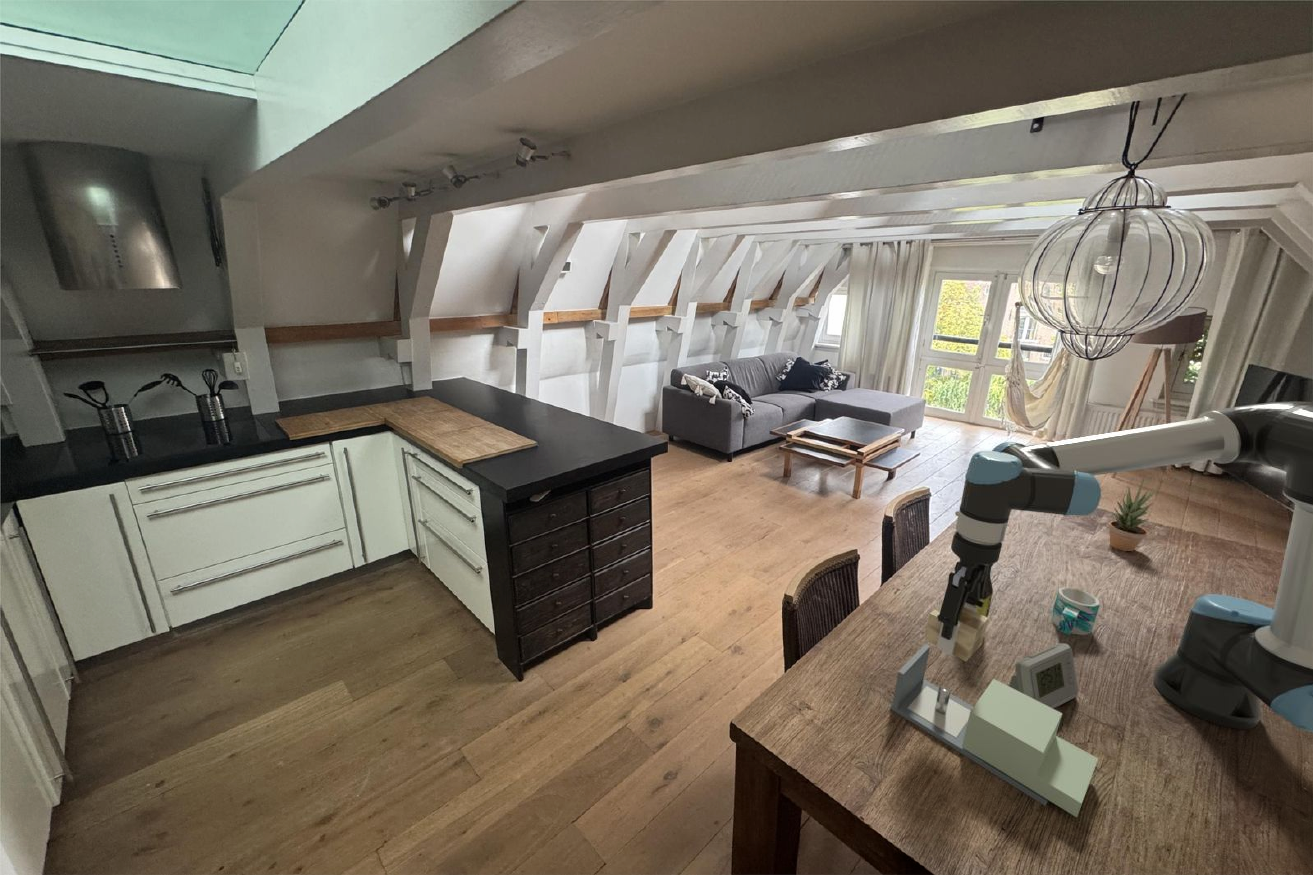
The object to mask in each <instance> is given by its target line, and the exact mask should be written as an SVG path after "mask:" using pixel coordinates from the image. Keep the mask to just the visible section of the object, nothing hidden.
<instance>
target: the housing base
mask: <svg viewBox="0 0 1313 875" xmlns="http://www.w3.org/2000/svg"><path fill="white" fill-rule="evenodd" d="M930 649H931V645H928V644H927V643H925V644H923V645H922V647H921V648H919V650H917V651H916V652H915V654H913V656H912V657H911V658H910V659H909V660H908V661H907V662H906V663H905V664H904V665H903V666H902V667H901V668H900V669H899V670H898V671H897V677H896V683H895V688H894V694H893V699H892V703H891V705H890V710H891V711H893V712H894V713H896V714H898V715H899V716H900V717H903V718H904V719H905V720H907V721H909V722H911V723H912V724H914V725H915V726H917V727H919V728H920V729H921V730H923V731H924V732H926V733H927V734H928V733H929V735H931V736H933V737H935V738H936V739H937V740H939V741H941V742H942V743H944V744H945V745H947V746H948V747H949V748H952V749H953V750H955V751H957V753H960V754H962V756H965V757H966V758H968V759H970V760H971V761H972V762H974V763H976V764H977V765H979V766H981V767H982V768H984V769H986V770H987V771H989V772H990V773H992V774H994V775H996V776H997V778H1000V779H1001V780H1003V781H1004V782H1006V783H1008V784H1010V785H1011V786H1012V787H1014V788H1016V789H1018V790H1019V791H1020V792H1022V793H1024V794H1025V795H1027V796H1028V797H1030V798H1032V799H1033V800H1035V801H1037V802H1038V803H1039V804H1042V805H1043V806H1044V807H1047V806H1048V805H1047V804H1048V802H1049V800H1048V799H1046V798H1044V797H1043V796H1041V795H1040V794H1038V793H1036V792H1035V791H1033V790H1031V789H1030V788H1028V787H1027V786H1025V785H1023V784H1022V783H1020V782H1019V781H1017V780H1015V779H1014V778H1012V777H1010V776H1009V775H1007V774H1006V773H1004V772H1002V771H1001V770H999V769H997V768H996V767H994V766H993V765H991V764H989V763H988V762H986V761H984V760H983V759H981V758H980V757H978V756H976V755H975V754H973V753H972V752H970V751H968V750H967V749H965V748H963V747H962V744H963V740H964V735H965V731H966V727H967V723H968V719H969V715H970V711H971V710H972V708H973V707H974V706H973V705H971V704H969V703H968V702H966V701H964V700H962V699H961V698H959V697H957V696H955V695H953V694H952V693H950V698H949V702H948V707H947V711H946V714H940V713H938V712H937V711H936V710H935V705H936V700H937V695H938V691H939V687H940V686H937V685H935V684H933V683H932V682H931V681H928V680H927V679H925V675H926V669H927V665H928V659H929V654H930Z"/></svg>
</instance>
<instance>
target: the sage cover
mask: <svg viewBox="0 0 1313 875" xmlns="http://www.w3.org/2000/svg"><path fill="white" fill-rule="evenodd" d="M1062 716H1063V713H1062V712H1060V711H1059V710H1057V709H1055V708H1053V709H1052V708H1050V707H1049V706H1047V705H1045V704H1043V703H1041V702H1039V701H1037V700H1035V699H1033V698H1031V697H1029V696H1027V695H1025V694H1023V693H1021V692H1019V691H1017V690H1015V689H1013V688H1011V687H1009V685H1007V684H1005V683H1003V682H1001V681H999V680H997V679H995V678H992V680H991V681H990V683H989V684H988V686H986V689H985V690H984V692H983V693H982V694H981V696H980V697H979V699H978V700H977V701H976V702H975V705H974V706H973V708H972V710H971V711H970V715H969V719H968V723H967V727H966V731H965V735H964V740H963V744H962V747H963V748H965V749H967V750H968V751H970V752H972V753H973V754H975V755H976V756H978V757H980V758H981V759H983V760H984V761H986V762H988V763H989V764H991V765H993V766H994V767H996V768H997V769H999V770H1001V771H1002V772H1004V773H1006V774H1007V775H1009V776H1010V777H1012V778H1014V779H1015V780H1017V781H1019V782H1020V783H1022V784H1023V785H1025V786H1027V787H1028V788H1030V789H1031V790H1033V791H1035V792H1036V793H1038V794H1040V795H1041V796H1043V797H1044V798H1046V799H1048V802H1051V803H1053V804H1054V805H1056V806H1057V807H1059V808H1060V809H1063V810H1064V811H1065V812H1067V813H1069V814H1071V815H1072V816H1074V817H1075V818H1078V815H1079V813H1080V810H1081V807H1082V805H1083V803H1084V799H1085V796H1086V794H1087V791H1088V788H1089V786H1090V783H1091V780H1092V777H1093V774H1094V773H1095V769H1096V766H1097V763H1098V760H1099V758H1098V757H1097V756H1094V755H1093V754H1091V753H1089V752H1087V751H1086V750H1083V749H1081V748H1079V747H1077V746H1076V745H1075V744H1072V743H1071V742H1069V741H1067V740H1065V739H1063V738H1061V737H1059V736H1057V733H1058V729H1059V726H1060V723H1061V720H1062Z"/></svg>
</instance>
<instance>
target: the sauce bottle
mask: <svg viewBox="0 0 1313 875" xmlns="http://www.w3.org/2000/svg"><path fill="white" fill-rule="evenodd" d="M993 566H994V564H990V565H989V569H988V575H987V580H986V585H985V590H984V595H983V596H984V597H983V598H982V599H980V601H981V602H984V604H983V606H982V608H981V607H979V606H977V605H975V606H976V607H977V610H976V613H979V614H981V615H983V616H985V617H987V618H989V613H990V608H991V604H992V603H991V602H992V599H993V596H994V594H993V593H994V588H993V585H992V579H991V572H992V567H993Z"/></svg>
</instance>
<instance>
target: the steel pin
mask: <svg viewBox="0 0 1313 875" xmlns="http://www.w3.org/2000/svg"><path fill="white" fill-rule="evenodd" d="M938 687H939V691H938V695H937V700H936V705H935V710H936V711H937V712H938V713H940V714H946V711H947V707H948V702H949V698H950V694H952V693H951V692H952V691H951V690H950V688H948V687H946V686H938Z"/></svg>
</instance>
